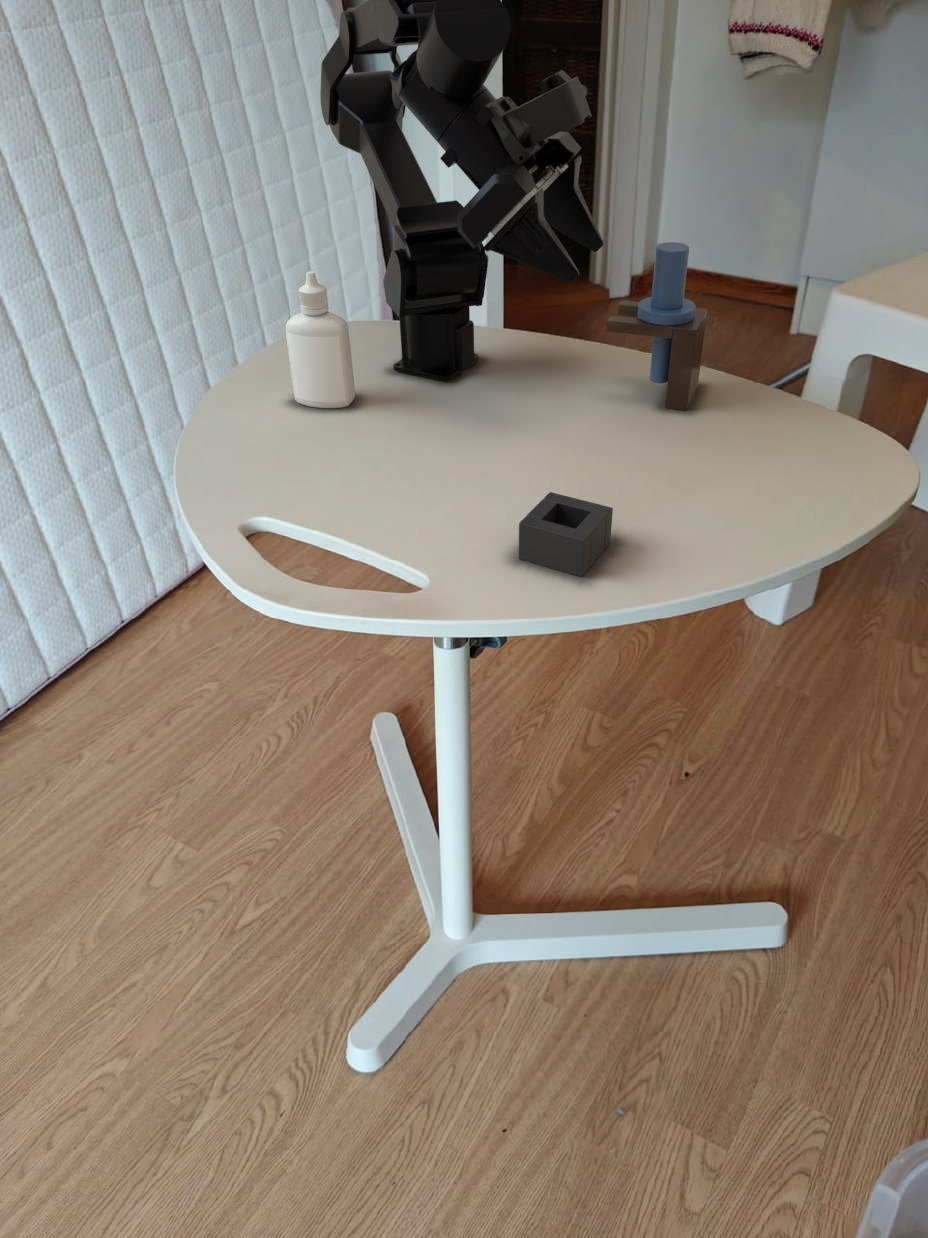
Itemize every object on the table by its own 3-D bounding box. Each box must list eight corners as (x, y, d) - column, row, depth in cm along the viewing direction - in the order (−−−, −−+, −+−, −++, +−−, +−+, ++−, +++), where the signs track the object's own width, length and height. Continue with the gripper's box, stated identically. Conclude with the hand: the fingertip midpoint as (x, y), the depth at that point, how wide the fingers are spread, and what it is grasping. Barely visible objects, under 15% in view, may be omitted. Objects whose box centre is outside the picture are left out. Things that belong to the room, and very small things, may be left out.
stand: (601, 399, 91) (606, 320, 87) (616, 376, 95) (621, 299, 91) (686, 410, 89) (696, 329, 84) (697, 386, 93) (707, 308, 88)
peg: (649, 394, 88) (662, 258, 81) (622, 374, 92) (632, 242, 85) (697, 384, 90) (714, 250, 82) (668, 365, 93) (682, 235, 86)
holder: (518, 558, 70) (518, 522, 68) (548, 526, 73) (549, 491, 72) (582, 577, 68) (584, 540, 66) (610, 543, 71) (613, 507, 70)
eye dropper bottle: (327, 417, 90) (312, 285, 82) (288, 400, 93) (270, 272, 85) (362, 401, 92) (350, 272, 85) (323, 385, 95) (308, 260, 88)
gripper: (494, 51, 69) (638, 225, 72) (561, 25, 83) (678, 171, 86) (398, 168, 76) (533, 321, 79) (475, 125, 90) (587, 256, 93)
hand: (588, 262), depth 84 cm, fingers open, 9 cm apart
